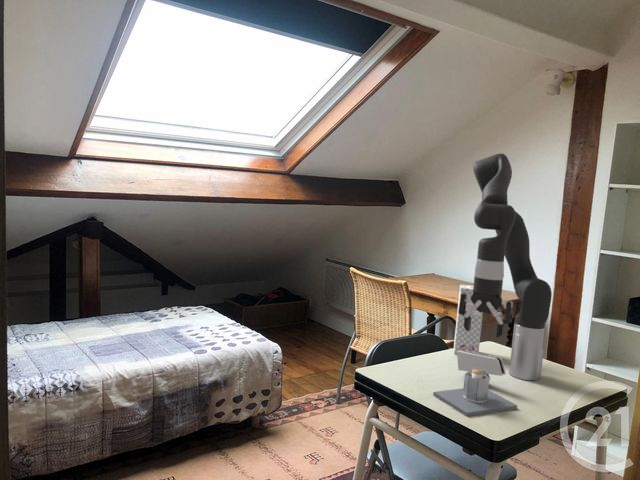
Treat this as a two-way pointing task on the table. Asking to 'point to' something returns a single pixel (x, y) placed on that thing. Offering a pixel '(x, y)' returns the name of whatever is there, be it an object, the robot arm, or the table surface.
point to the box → (471, 337)
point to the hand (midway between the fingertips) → (482, 333)
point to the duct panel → (472, 406)
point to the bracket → (480, 363)
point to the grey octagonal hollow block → (476, 387)
